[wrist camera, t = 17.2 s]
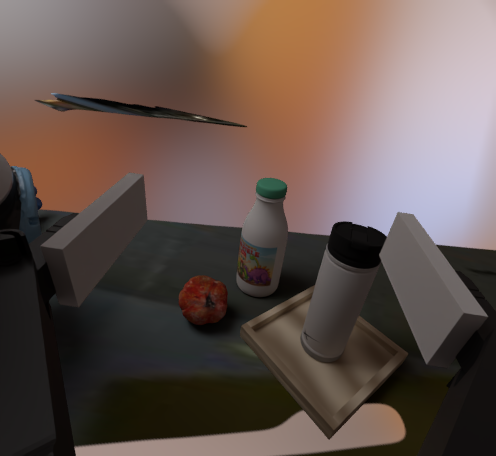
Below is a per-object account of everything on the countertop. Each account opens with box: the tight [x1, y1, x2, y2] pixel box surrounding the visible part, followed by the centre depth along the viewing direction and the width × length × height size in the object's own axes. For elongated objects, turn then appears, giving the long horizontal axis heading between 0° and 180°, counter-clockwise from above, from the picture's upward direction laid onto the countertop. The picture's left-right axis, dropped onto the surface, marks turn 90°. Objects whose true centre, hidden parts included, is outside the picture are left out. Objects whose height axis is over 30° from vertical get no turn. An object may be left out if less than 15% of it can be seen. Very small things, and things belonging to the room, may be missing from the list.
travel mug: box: [300, 222, 387, 362], centre depth 38 cm, size 6×7×20 cm
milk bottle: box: [237, 178, 288, 297], centre depth 50 cm, size 8×8×20 cm
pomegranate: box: [179, 276, 227, 325], centre depth 46 cm, size 7×7×10 cm
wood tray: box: [240, 285, 408, 439], centre depth 44 cm, size 17×17×2 cm
